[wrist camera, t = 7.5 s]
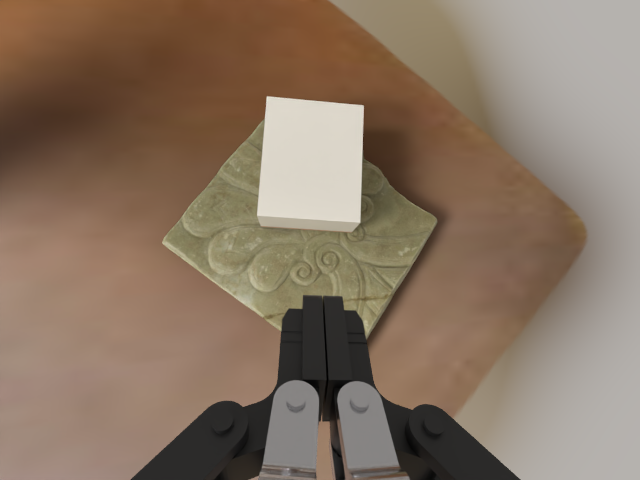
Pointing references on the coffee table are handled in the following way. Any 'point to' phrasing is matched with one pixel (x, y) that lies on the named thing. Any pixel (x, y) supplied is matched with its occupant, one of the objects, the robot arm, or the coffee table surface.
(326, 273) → the decorative tile
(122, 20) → the coffee table surface
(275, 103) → the white rectangular block
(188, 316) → the coffee table surface
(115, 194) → the coffee table surface
